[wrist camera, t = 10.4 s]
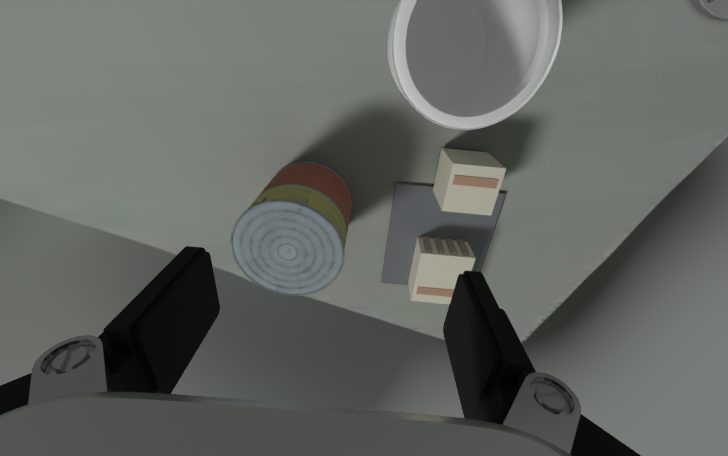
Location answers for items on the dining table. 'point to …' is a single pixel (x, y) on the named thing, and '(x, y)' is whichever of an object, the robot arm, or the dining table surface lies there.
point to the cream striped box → (438, 268)
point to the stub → (467, 181)
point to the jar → (472, 56)
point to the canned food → (295, 230)
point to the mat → (430, 229)
